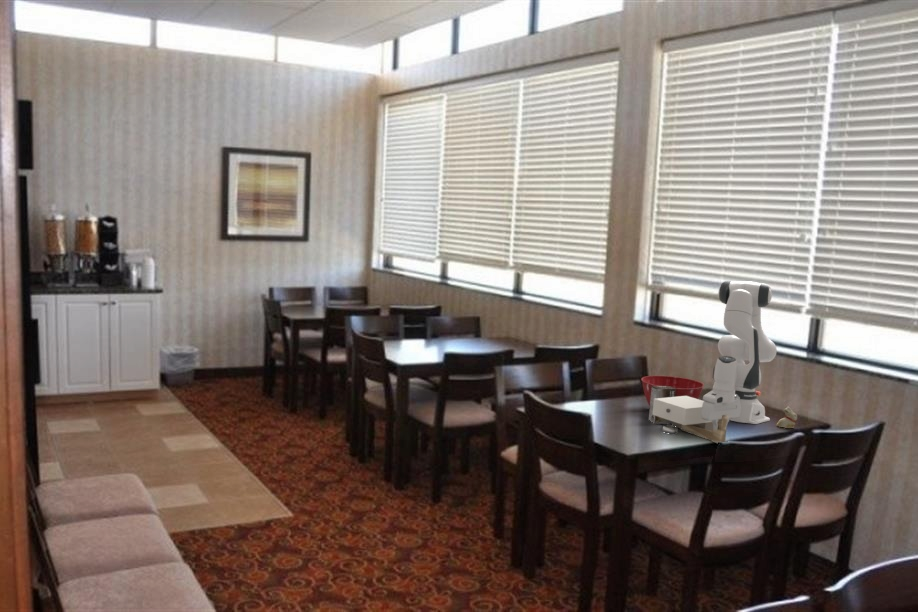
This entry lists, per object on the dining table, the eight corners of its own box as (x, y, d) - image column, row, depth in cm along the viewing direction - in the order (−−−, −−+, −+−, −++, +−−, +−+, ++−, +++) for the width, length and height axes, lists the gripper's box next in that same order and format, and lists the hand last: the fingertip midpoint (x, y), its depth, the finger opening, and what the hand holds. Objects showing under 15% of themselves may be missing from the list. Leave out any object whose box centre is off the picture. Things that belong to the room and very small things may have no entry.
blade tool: (684, 429, 353) (687, 402, 351) (724, 443, 335) (727, 414, 334) (679, 430, 351) (682, 402, 350) (719, 444, 333) (722, 415, 332)
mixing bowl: (637, 416, 372) (640, 383, 370) (639, 403, 400) (642, 372, 398) (701, 424, 366) (705, 390, 364) (698, 410, 393) (702, 379, 391)
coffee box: (666, 420, 368) (670, 385, 367) (673, 424, 362) (676, 389, 360) (647, 420, 367) (651, 385, 365) (654, 424, 360) (657, 388, 358)
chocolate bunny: (792, 430, 366) (795, 408, 365) (775, 426, 371) (777, 405, 370) (796, 428, 371) (799, 407, 369) (779, 424, 376) (781, 403, 374)
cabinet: (683, 424, 364) (686, 395, 362) (715, 435, 349) (718, 405, 347) (649, 428, 352) (652, 398, 351) (681, 439, 337) (684, 408, 336)
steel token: (669, 430, 352) (670, 424, 352) (680, 434, 347) (680, 428, 347) (659, 431, 349) (660, 425, 348) (670, 435, 344) (670, 429, 343)
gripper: (733, 392, 342) (730, 424, 343) (700, 396, 331) (696, 429, 332) (746, 396, 337) (742, 428, 338) (712, 399, 325) (709, 433, 327)
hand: (719, 429), depth 335 cm, fingers closed on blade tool, 3 cm apart
